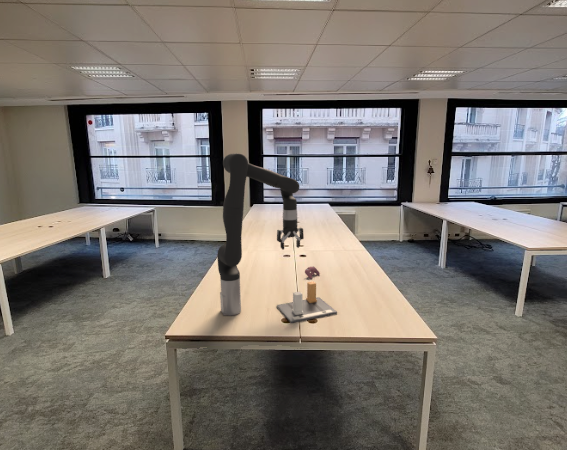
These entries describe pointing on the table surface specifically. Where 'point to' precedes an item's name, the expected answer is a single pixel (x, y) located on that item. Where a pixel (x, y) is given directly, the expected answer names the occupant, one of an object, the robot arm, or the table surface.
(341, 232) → the table surface
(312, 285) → the orange tab
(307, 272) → the video game controller
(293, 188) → the robot arm
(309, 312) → the switch panel
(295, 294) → the white slide tab
